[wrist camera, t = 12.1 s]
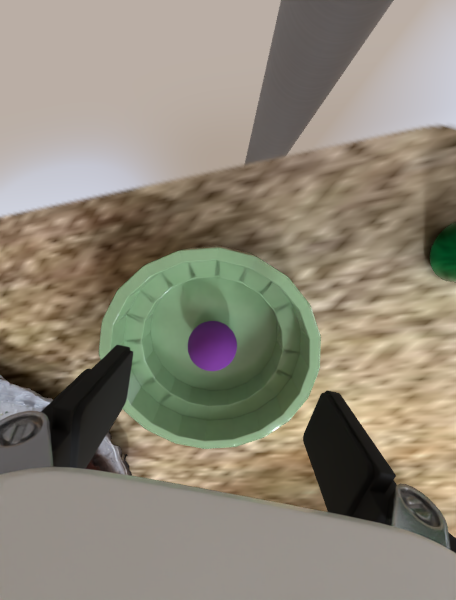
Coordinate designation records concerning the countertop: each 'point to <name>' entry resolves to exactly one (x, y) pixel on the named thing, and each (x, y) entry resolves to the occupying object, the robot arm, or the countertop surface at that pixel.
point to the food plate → (13, 399)
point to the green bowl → (248, 359)
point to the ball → (212, 346)
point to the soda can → (445, 254)
